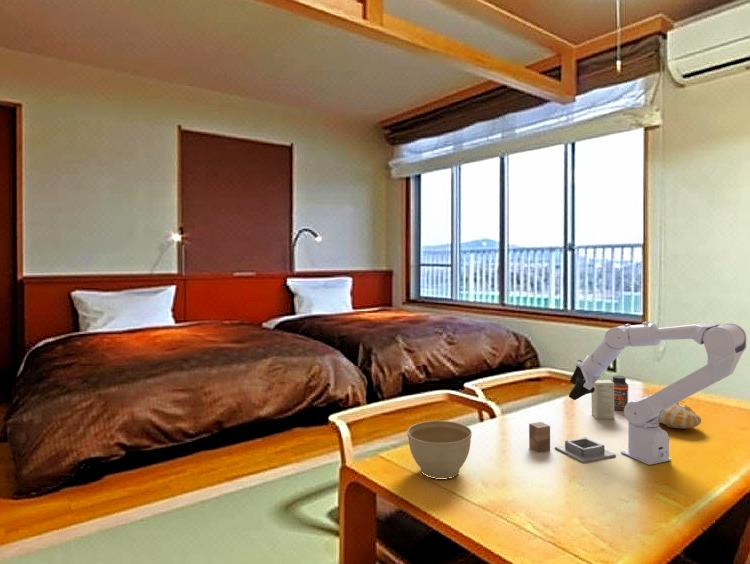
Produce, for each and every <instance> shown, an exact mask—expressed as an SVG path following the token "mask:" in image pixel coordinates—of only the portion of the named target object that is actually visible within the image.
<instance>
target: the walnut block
mask: <svg viewBox="0 0 750 564" xmlns="http://www.w3.org/2000/svg"><path fill="white" fill-rule="evenodd" d="M528 435H529V436H528V445H529V446H528V447H529V449H530V450H532V451H535V452H536V453H538V454H539V453H544V452H550V451H551V425H549V424H547V423H544V422H542V421H537V422H531V423H529V424H528Z"/></svg>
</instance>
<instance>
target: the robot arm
mask: <svg viewBox="0 0 750 564" xmlns="http://www.w3.org/2000/svg"><path fill="white" fill-rule="evenodd" d="M746 333H747V332H745V330H744V329H743V328H742V327H741V326H740V325H739V324H736V323H730V322H729V323H725V324H722V325H721V323H717V322H715V323H714V322H713V323H708V322H706V323H704V322H703V323H693V324H684V325H677V326H665V327H660V326H659V325H658V324H656V323H650V321H643V322H642V324H635V325H634V324H633V325H631V323H626V324H624V325H620V326H614V327H611V328H609V329H607V331H606V332H605V336H604V339H602V341H601V342H599V343H598V345H597V346H596V347H595V348H594V349H593V350H592V352H591V353H590V354H587V355H586V356H585V357H584V360H581V359H578V360H577V362H576V367H575V370H574V372H573V373H572V376H571V377H570V380H569V382H570V383H571V384H573V385H574V386H573V387H572V389H571V391H570V392H569V394H568V397H569V398H570V399H572V400H573V401H576V400H578V399H580V398H581V397H583V396H585V395H588V394H592V393H593V392H594V391H595V388H594V387H593V386H594V383H595V382H596V381H597V380H599V379H600V377H601V375H603V373H604V372H605V371H606V370H607V369H608V367H610V366H611V364H612V363H613V362H614V361H615V360H616V359H617V358H618V357H619V355H620V354H621V353H622V352H623V351H624V349H625V347H626V348H627V347H648V346H650V347H651V346H658V345H659V344H660V343H661V342H662V341H666V340H667V341H669V340H673V341H675V340H693V341H694V342H696V343H697V344H698V345H704V349H705V351H706V354H707V362H706V363H707V364H705V365H702V367H700V368H697V370H694V371H693V372H690V373H689V374H687V375H686V376H684V377H682V378H680V379H678V380H676V381H674V382H672V383H670V384H669V385H667V386H665V387H663V388H661V389H660V390H658V391H657V392H654V393H653V394H651V395H648V394H647V395H643V396H641V397H640V398H638V399H636V400H631V401H628V403H627V404H626V406H625V408H624V411H623V414H624V417H625V419H626V420H627V422H628V427H627V428H628V429H627V432H628V433H627V436H628V440H627V441H628V442H627V446H628V449H622V450H620V454H623V455H626V456H628V457H630V458H632V459H635V460H636V461H639V462H642V463H644V464H646V465H655V464H659V463H661V464H662V463H665V462H671V461H672V458H671V457H670V437H669V434H668V432H667V431H666V430H664V429H663V428H662V427H660V425H659V424H660V422H658V417H659V416H660V415H661V414H662V412H663V411H664V410H665V409H666V408H668V407H670V406H672V405H674V404H676V403H678V402H679V403H681V401H683V400H685V399H687V398H689V397H691V396H693V395H694V394H697V393H699V392H701V391H702V390H704V389H707V388H709V387H710V386H712V385H714V384H715V383H718V382H720V381H722V380H724V379H725V378H728V377H729V376H731V375H732V374H733V373H734V372H735V370H736V369H737V365H738V363H739V361H740V359H741V357H742V355H743V354H744V352H745V351H746V349H747V334H746ZM679 403H678V404H679Z"/></svg>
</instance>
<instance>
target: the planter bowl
mask: <svg viewBox="0 0 750 564" xmlns="http://www.w3.org/2000/svg"><path fill="white" fill-rule="evenodd" d="M406 431H407V432H406V433H407V438H408V446H409V451H410V453H411V455H412V458H413V460H414V461H415V463H416V464H417V465H418V467H419V468H420V471H422V472H423V473H424V474H426V475H428V476H431V477H435V478H449V477H453V476H456V475H457V474H458V473H459V474H460V469H461V468H462V467H463V465H464V464H465V462H466V460H467V458H468V456H469V452H470V448H471V442H472V441H471V439H472V430H471V428H469V426H466V425H465V424H461V423H459V422H456V421H450V420H426V421H423V422H419V423H415V424H413V425H411V426H409V428H408V429H407V430H406ZM422 472H421V473H422ZM459 474H458V475H459ZM458 475H457V476H458ZM457 476H456V477H457Z"/></svg>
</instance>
